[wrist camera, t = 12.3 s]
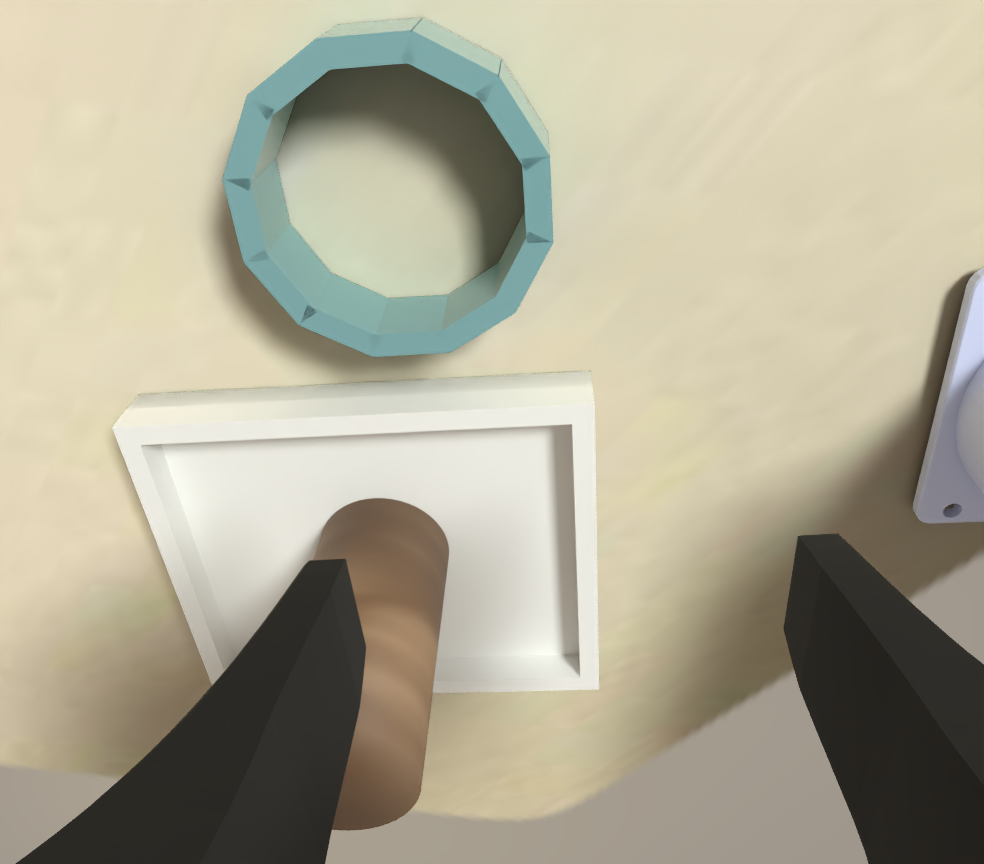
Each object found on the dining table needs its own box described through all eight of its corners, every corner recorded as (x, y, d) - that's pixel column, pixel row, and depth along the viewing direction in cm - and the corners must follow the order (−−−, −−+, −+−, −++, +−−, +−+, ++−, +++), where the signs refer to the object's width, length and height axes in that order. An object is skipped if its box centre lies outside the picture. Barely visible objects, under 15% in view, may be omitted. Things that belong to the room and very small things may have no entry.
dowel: (441, 494, 24) (408, 720, 18) (455, 594, 27) (431, 829, 20) (309, 501, 25) (226, 725, 18) (333, 598, 27) (269, 831, 20)
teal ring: (542, 6, 18) (543, 18, 16) (555, 309, 22) (557, 346, 20) (222, 34, 19) (189, 49, 17) (290, 324, 22) (268, 362, 21)
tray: (590, 370, 23) (594, 403, 21) (595, 648, 29) (599, 689, 27) (138, 394, 24) (111, 427, 22) (232, 658, 30) (217, 698, 28)
